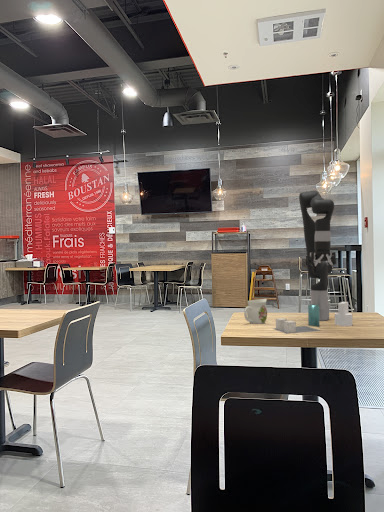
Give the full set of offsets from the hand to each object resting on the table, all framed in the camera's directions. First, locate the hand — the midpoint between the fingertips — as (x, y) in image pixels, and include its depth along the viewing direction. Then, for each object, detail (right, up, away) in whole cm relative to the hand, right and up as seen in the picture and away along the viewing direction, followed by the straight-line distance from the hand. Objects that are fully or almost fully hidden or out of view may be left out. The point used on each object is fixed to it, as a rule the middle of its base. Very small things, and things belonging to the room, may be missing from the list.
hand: (322, 273), depth 209 cm
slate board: (-12, -30, +2) cm, 32 cm away
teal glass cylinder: (0, -29, +14) cm, 32 cm away
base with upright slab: (+18, -29, +22) cm, 40 cm away
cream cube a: (-17, -28, -3) cm, 33 cm away
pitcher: (-29, -30, +24) cm, 48 cm away
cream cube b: (-19, -28, +4) cm, 34 cm away
